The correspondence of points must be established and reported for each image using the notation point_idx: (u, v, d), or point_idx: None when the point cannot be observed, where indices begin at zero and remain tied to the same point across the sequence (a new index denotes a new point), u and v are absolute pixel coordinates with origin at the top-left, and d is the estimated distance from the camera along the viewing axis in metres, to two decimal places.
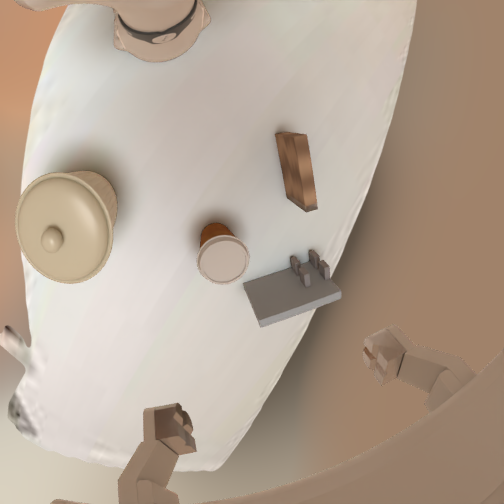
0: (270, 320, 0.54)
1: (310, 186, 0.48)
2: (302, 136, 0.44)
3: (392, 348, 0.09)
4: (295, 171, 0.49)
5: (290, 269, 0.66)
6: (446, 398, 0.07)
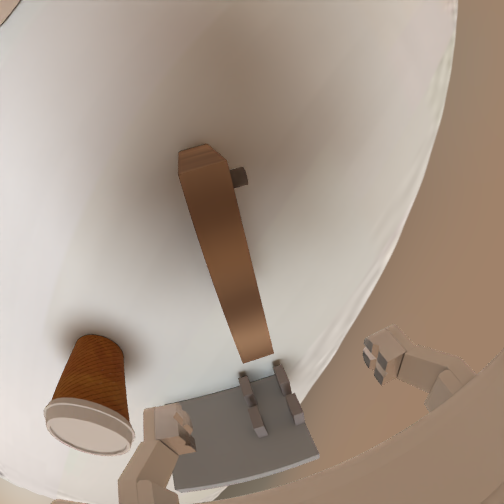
0: (194, 489, 0.24)
1: (249, 313, 0.17)
2: (211, 169, 0.13)
3: (392, 348, 0.09)
4: None
5: (241, 389, 0.36)
6: (446, 398, 0.07)
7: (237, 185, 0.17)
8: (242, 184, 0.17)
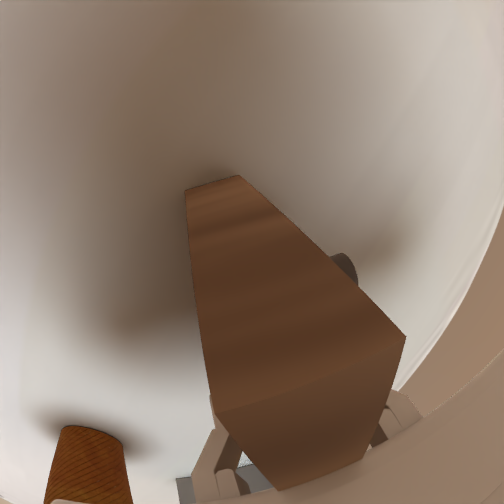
0: None
1: None
2: (347, 375, 0.03)
3: None
4: None
5: None
6: (383, 440, 0.07)
7: None
8: None
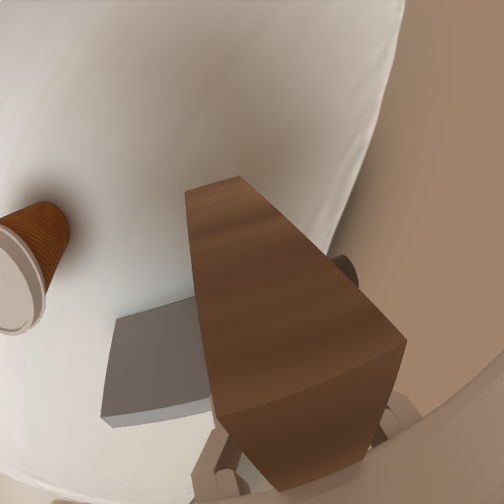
0: (127, 420, 0.19)
1: None
2: (348, 378, 0.03)
3: None
4: None
5: None
6: (383, 440, 0.07)
7: None
8: None
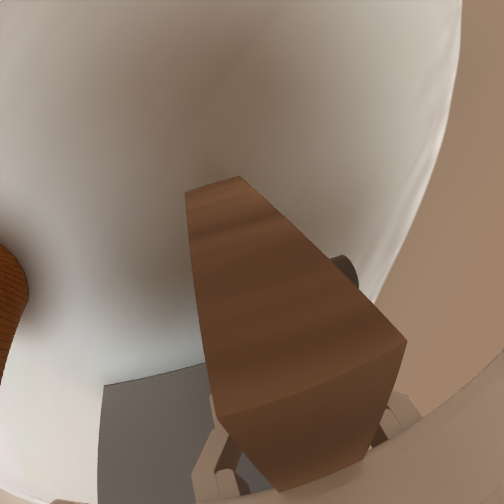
0: None
1: None
2: (349, 379, 0.03)
3: None
4: None
5: None
6: (383, 440, 0.07)
7: None
8: None
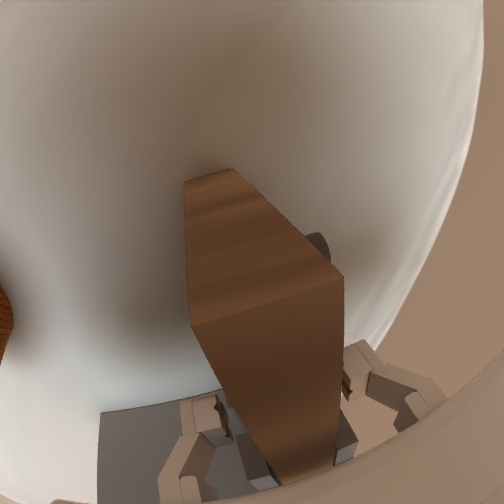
0: None
1: (313, 465, 0.09)
2: (295, 304, 0.04)
3: (358, 366, 0.09)
4: None
5: None
6: (412, 422, 0.07)
7: None
8: None
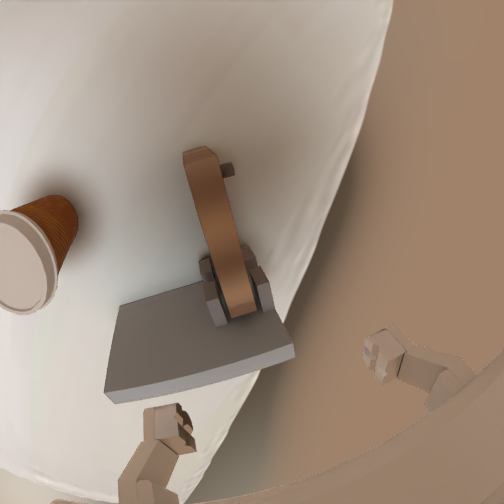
0: (128, 395, 0.21)
1: (235, 272, 0.23)
2: (206, 161, 0.18)
3: (392, 348, 0.09)
4: None
5: (203, 283, 0.33)
6: (446, 398, 0.07)
7: (226, 175, 0.23)
8: (230, 175, 0.23)
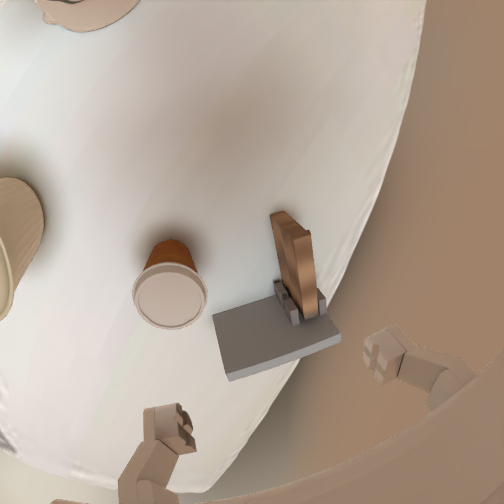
0: (242, 373, 0.38)
1: (311, 294, 0.39)
2: (304, 237, 0.35)
3: (392, 348, 0.09)
4: (293, 274, 0.40)
5: (274, 297, 0.50)
6: (446, 398, 0.07)
7: None
8: None
